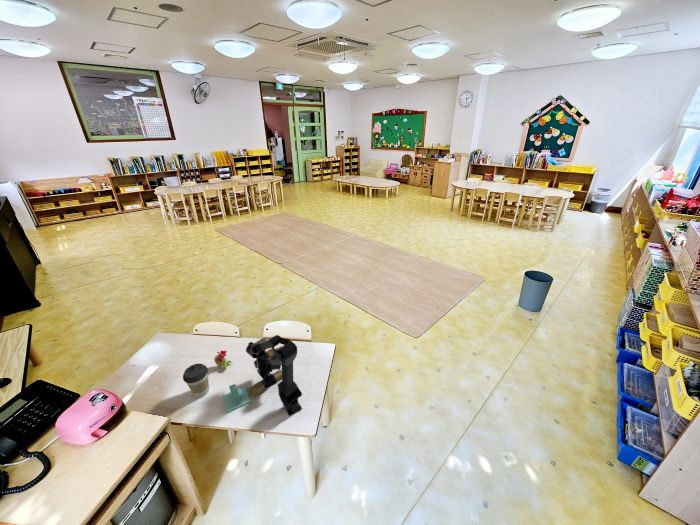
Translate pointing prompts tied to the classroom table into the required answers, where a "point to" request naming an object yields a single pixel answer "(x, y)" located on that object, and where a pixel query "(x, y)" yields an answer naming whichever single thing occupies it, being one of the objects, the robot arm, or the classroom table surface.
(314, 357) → the classroom table surface
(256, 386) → the walnut bar
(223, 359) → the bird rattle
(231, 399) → the fulcrum block
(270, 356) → the wooden fragment
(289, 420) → the classroom table surface
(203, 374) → the coffee cup
